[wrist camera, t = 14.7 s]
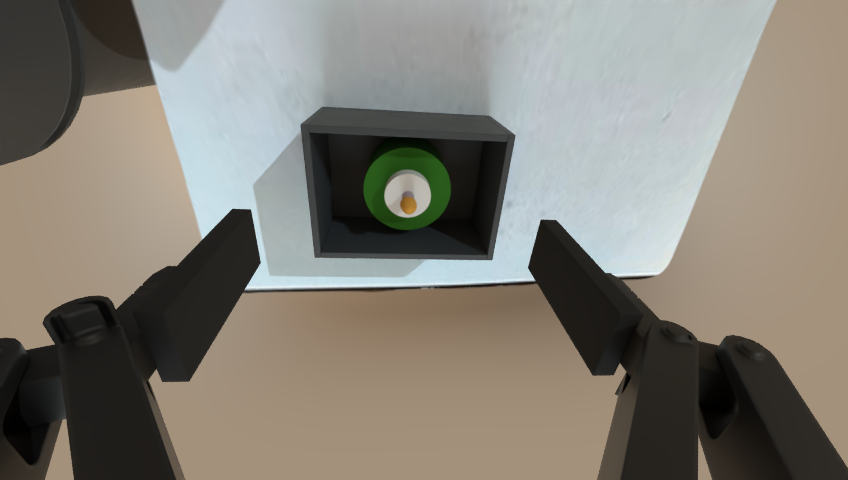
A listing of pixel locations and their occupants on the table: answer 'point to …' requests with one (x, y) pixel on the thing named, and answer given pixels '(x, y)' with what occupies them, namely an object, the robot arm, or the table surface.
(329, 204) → the dark grey open box
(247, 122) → the table surface
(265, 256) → the table surface
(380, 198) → the candle
